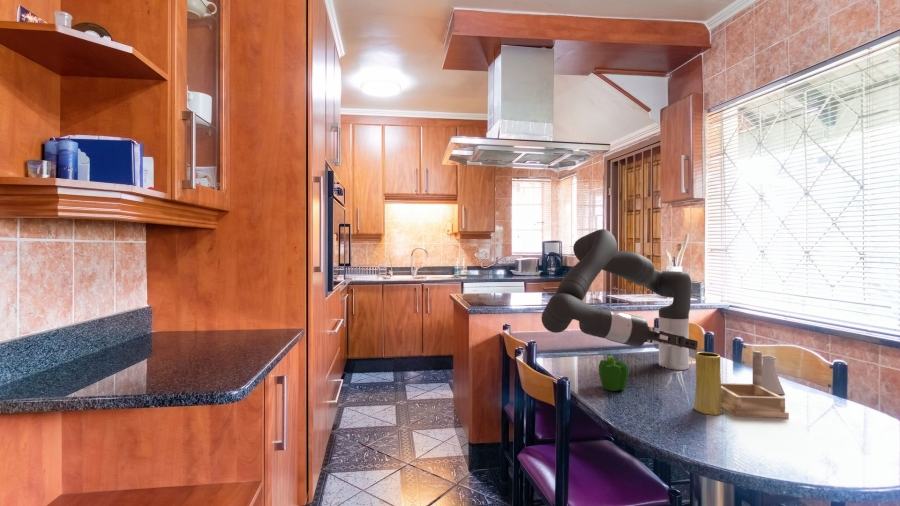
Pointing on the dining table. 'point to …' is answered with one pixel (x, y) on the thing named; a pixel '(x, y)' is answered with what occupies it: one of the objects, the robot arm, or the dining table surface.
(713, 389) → the vase
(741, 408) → the stand
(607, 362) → the bell pepper
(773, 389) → the flask
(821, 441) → the dining table surface
